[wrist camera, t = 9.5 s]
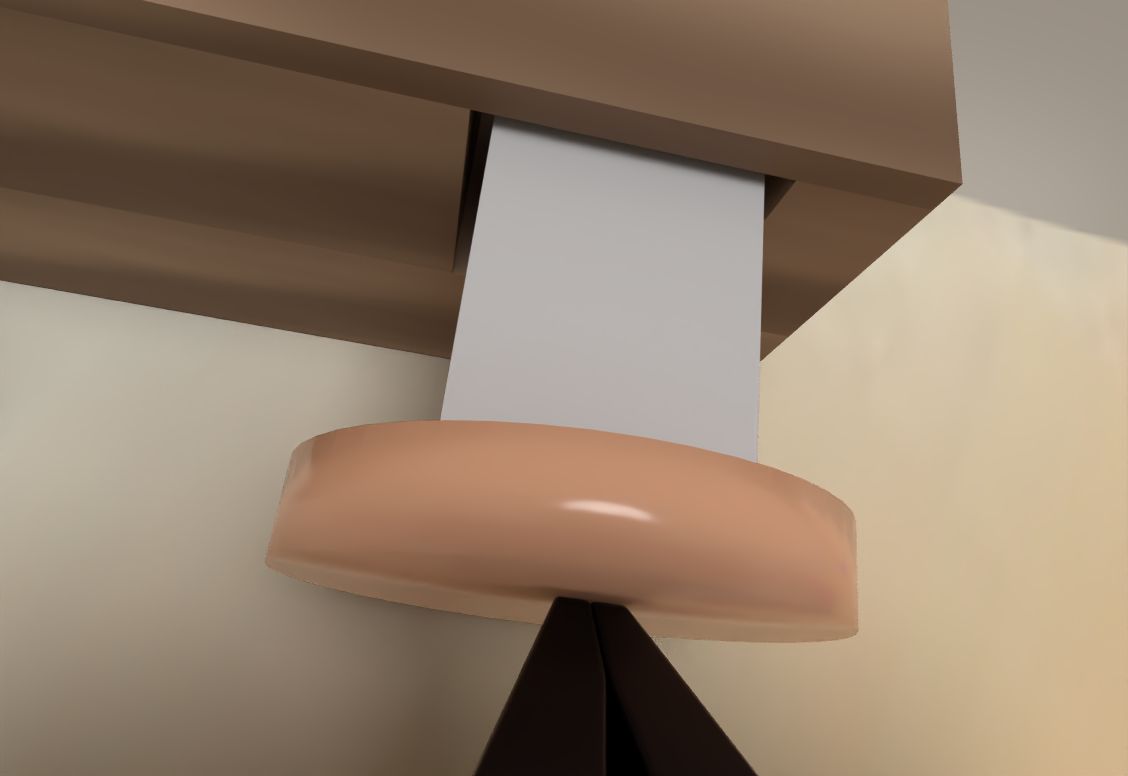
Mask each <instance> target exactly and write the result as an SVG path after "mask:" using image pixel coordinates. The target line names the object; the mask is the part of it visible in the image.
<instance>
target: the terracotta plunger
mask: <svg viewBox="0 0 1128 776" xmlns="http://www.w3.org/2000/svg"><path fill="white" fill-rule="evenodd" d="M764 184H765V174H764V173H759V172H754V171H750V170H745V169H741V168H736V167H731V166H727V165H722V164H718V163H713V162H708V161H704V160H699V159H695V158H690V157H686V156H681V155H676V154H672V153H667V152H663V151H658V150H653V149H649V148H644V147H640V146H635V145H631V144H626V143H621V142H617V141H612V140H608V139H603V138H598V137H594V136H589V135H585V134H580V133H576V132H571V131H566V130H562V129H557V128H553V127H548V126H543V125H539V124H534V123H530V122H525V121H521V120H516V119H511V118H507V117H502V116H498V115H495V117H494V123H493V128H492V134H491V139H490V145H489V150H488V156H487V162H486V167H485V173H484V178H483V184H482V189H481V195H480V201H479V206H478V212H477V217H476V223H475V228H474V234H473V239H472V245H471V251H470V256H469V262H468V267H467V273H466V278H465V284H464V290H463V295H462V301H461V306H460V312H459V317H458V323H457V328H456V334H455V340H454V345H453V351H452V356H451V362H450V367H449V373H448V379H447V384H446V390H445V395H444V401H443V406H442V412H441V417H440V420H429V421H400V422H390V423H379V424H368V425H362V426H356V427H350V428H345V429H339V430H335V431H331V432H328V433H325V434H321V435H318V436H315V437H313V438H311V439H309V440H307V441H305V442H303V443H301V444H300V445H299V446H298V447H297V448H296V449H295V450H294V451H293V452H292V455H291V459H290V463H289V467H288V471H287V475H286V479H285V483H284V487H283V491H282V495H281V499H280V503H279V507H278V511H277V515H276V519H275V523H274V527H273V531H272V535H271V539H270V543H269V547H268V552H267V556H266V560H265V563H266V564H267V565H268V566H269V567H270V568H272V569H274V570H276V571H277V572H280V573H282V574H285V575H287V576H290V577H293V578H296V579H299V580H302V581H306V582H309V583H313V584H316V585H320V586H324V587H328V588H332V589H336V590H340V591H344V592H349V593H353V594H358V595H363V596H367V597H372V598H377V599H382V600H387V601H392V602H398V603H403V604H409V605H414V606H420V607H426V608H432V609H438V610H444V611H450V612H456V613H463V614H469V615H476V616H483V617H489V618H496V619H504V620H511V621H518V622H526V623H534V624H543V622H544V620H545V618H546V616H547V613H548V611H549V609H550V607H551V605H552V603H553V601H554V599H555V598H556V597H558V596H562V597H569V598H576V599H583V600H587V601H588V602H589V603H590V604H591V603H592V602H604V603H611V604H618V605H623V606H625V607H626V608H628V609H629V611H630V612H631V613H632V614H633V616H634V617H635V618H636V620H637V621H638V622H639V623H640V625H641V626H642V627H643V628H644V630H645V631H646V632H647V634H648V635H649V636H657V637H670V638H683V639H698V640H714V641H734V642H769V643H799V642H822V641H832V640H839V639H845V638H849V637H851V636H854V635H856V634H857V632H858V592H857V542H856V520H855V517H854V514H853V512H852V511H851V510H850V509H849V508H848V506H847V505H846V504H845V503H844V502H843V501H841V500H840V499H838V498H837V497H835V496H834V495H832V494H831V493H829V492H828V491H826V490H824V489H822V488H820V487H818V486H816V485H814V484H812V483H810V482H808V481H806V480H804V479H801V478H798V477H796V476H793V475H790V474H788V473H785V472H782V471H780V470H777V469H774V468H772V467H768V466H765V465H762V464H758V463H757V453H758V414H759V376H760V337H761V299H762V261H763V222H764Z"/></svg>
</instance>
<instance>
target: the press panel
mask: <svg viewBox="0 0 1128 776" xmlns="http://www.w3.org/2000/svg"><path fill="white" fill-rule="evenodd" d="M495 115H498V116H502V117H507V118H511V119H516V120H521V121H525V122H530V123H534V124H539V125H543V126H548V127H553V128H557V129H562V130H566V131H571V132H576V133H580V134H585V135H589V136H594V137H598V138H603V139H608V140H612V141H617V142H621V143H626V144H631V145H635V146H640V147H644V148H649V149H653V150H658V151H663V152H667V153H672V154H676V155H681V156H686V157H690V158H695V159H699V160H704V161H708V162H713V163H718V164H722V165H727V166H731V167H736V168H741V169H745V170H750V171H754V172H759V173H764V174H765V184H764V222H763V261H762V299H761V337H760V361H761V360H763V359H764V358H765V357H766V356H767V355H768V354H769V353H771V352H772V351H773V350H774V349H775V348H776V347H777V346H779V345H780V344H781V343H782V342H783V341H784V340H785V339H786V338H788V337H789V336H790V335H791V334H792V333H793V332H794V331H796V330H797V329H798V328H799V327H800V326H801V325H802V324H804V323H805V322H806V321H807V320H808V319H809V318H810V317H812V316H813V315H814V314H815V313H816V312H817V311H818V310H820V309H821V308H822V307H823V306H824V305H825V304H826V303H827V302H829V301H830V300H831V299H832V298H833V297H834V296H835V295H837V294H838V293H839V292H840V291H841V290H842V289H843V288H845V287H846V286H847V285H848V284H849V283H850V282H851V281H853V280H854V279H855V278H856V277H857V276H858V275H859V274H861V273H862V272H863V271H864V270H865V269H866V268H867V267H868V266H870V265H871V264H872V263H873V262H874V261H875V260H876V259H878V258H879V257H880V256H881V255H882V254H883V253H884V252H886V251H887V250H888V249H889V248H890V247H891V246H892V245H894V244H895V243H896V242H897V241H898V240H899V239H900V238H902V237H903V236H904V235H905V234H906V233H907V232H908V231H909V230H911V229H912V228H913V227H914V226H915V225H916V224H917V223H919V222H920V221H921V220H922V219H923V218H924V217H925V216H927V215H928V214H929V213H930V212H931V211H932V210H933V209H935V208H936V207H937V206H938V205H939V204H940V203H941V202H943V201H944V200H945V199H946V198H947V197H948V196H949V195H950V194H952V193H953V192H954V191H955V190H956V189H957V188H958V187H960V186H961V185H962V174H961V161H960V149H959V138H958V137H959V136H958V124H957V113H956V100H955V87H954V75H953V63H952V52H951V39H950V26H949V15H948V2H947V0H0V280H5V281H10V282H16V283H22V284H28V285H33V286H39V287H45V288H50V289H56V290H62V291H67V292H73V293H79V294H85V295H90V296H96V297H102V298H107V299H113V300H119V301H125V302H130V303H136V304H142V305H147V306H153V307H159V308H164V309H170V310H176V311H182V312H187V313H193V314H199V315H204V316H210V317H216V318H222V319H227V320H233V321H239V322H244V323H250V324H256V325H261V326H267V327H273V328H279V329H284V330H290V331H296V332H301V333H307V334H313V335H319V336H324V337H330V338H336V339H341V340H347V341H353V342H358V343H364V344H370V345H376V346H381V347H387V348H393V349H398V350H404V351H410V352H416V353H421V354H427V355H433V356H438V357H444V358H450V359H451V356H452V351H453V345H454V340H455V334H456V328H457V323H458V317H459V312H460V306H461V301H462V295H463V290H464V284H465V278H466V273H467V267H468V262H469V256H470V251H471V245H472V239H473V234H474V228H475V223H476V217H477V212H478V206H479V201H480V195H481V189H482V184H483V178H484V173H485V167H486V162H487V156H488V150H489V145H490V139H491V134H492V128H493V123H494V117H495Z"/></svg>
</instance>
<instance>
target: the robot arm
mask: <svg viewBox="0 0 1128 776" xmlns="http://www.w3.org/2000/svg"><path fill="white" fill-rule="evenodd" d="M472 776H758V775H757V773H756V772H755V771H754V770H753V768H752V767H751V766H750V764H749V763H748V762H747V761H746V759H745V758H744V757H743V755H742V754H741V753H740V752H739V750H738V749H737V748H736V746H735V745H734V744H733V743H732V741H731V740H730V739H729V738H728V736H727V735H726V734H725V732H724V731H723V730H722V729H721V727H720V726H719V725H718V723H717V722H716V721H715V720H714V718H713V717H712V716H711V714H710V713H709V712H708V711H707V709H706V708H705V707H704V705H703V704H702V703H701V702H700V700H699V699H698V698H697V696H696V695H695V694H694V693H693V691H692V690H691V689H690V687H689V686H688V685H687V684H686V682H685V681H684V680H683V679H682V677H681V676H680V675H679V673H678V672H677V671H676V670H675V668H674V667H673V666H672V664H671V663H670V662H669V661H668V659H667V658H666V657H665V655H664V654H663V653H662V652H661V650H660V649H659V648H658V646H657V645H656V644H655V643H654V641H653V640H652V639H651V637H650V636H649V635H648V634H647V632H646V631H645V630H644V628H643V627H642V626H641V625H640V623H639V622H638V621H637V620H636V618H635V617H634V616H633V614H632V613H631V612H630V611H629V609H628V608H626V607H625V606H623V605H618V604H611V603H604V602H592V603H591V604H590V603H589V602H588V601H587V600H583V599H576V598H569V597H562V596H558V597H556V598H555V599H554V601H553V603H552V605H551V607H550V609H549V611H548V613H547V616H546V618H545V620H544V622H543V624H542V626H541V629H540V631H539V633H538V635H537V637H536V639H535V641H534V644H533V646H532V648H531V650H530V652H529V654H528V657H527V659H526V661H525V663H524V665H523V667H522V669H521V672H520V674H519V676H518V678H517V680H516V682H515V685H514V687H513V689H512V691H511V693H510V695H509V698H508V700H507V702H506V704H505V706H504V708H503V710H502V713H501V715H500V717H499V719H498V721H497V723H496V726H495V728H494V730H493V732H492V734H491V736H490V738H489V741H488V743H487V745H486V747H485V749H484V751H483V754H482V756H481V758H480V760H479V762H478V764H477V766H476V769H475V771H474V773H473V775H472Z"/></svg>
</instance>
